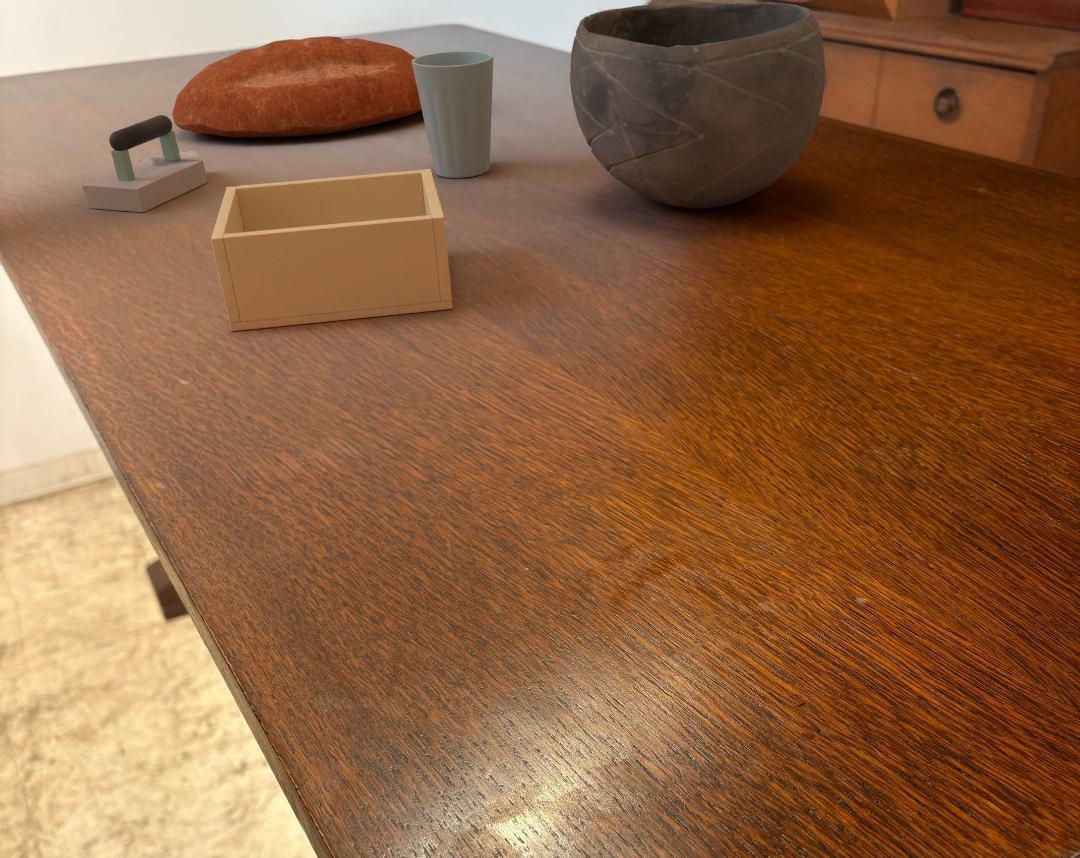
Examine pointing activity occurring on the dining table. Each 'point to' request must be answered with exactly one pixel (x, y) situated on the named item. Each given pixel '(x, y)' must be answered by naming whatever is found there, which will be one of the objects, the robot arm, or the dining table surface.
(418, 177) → the open wooden box
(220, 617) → the dining table surface
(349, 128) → the bread
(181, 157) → the handle on base
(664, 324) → the dining table surface
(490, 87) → the cup
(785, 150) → the bowl
